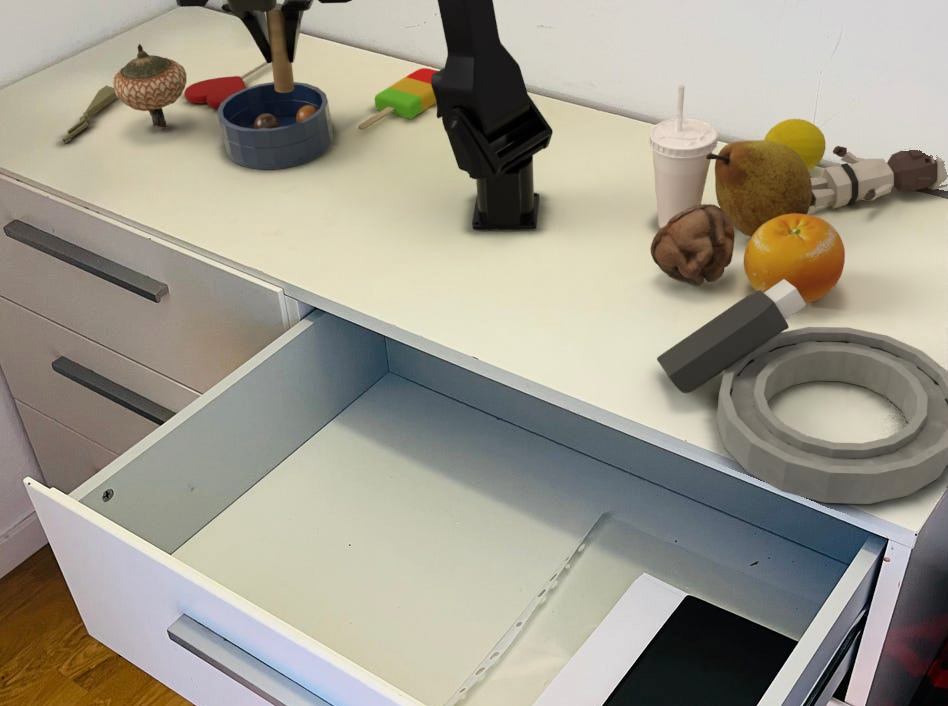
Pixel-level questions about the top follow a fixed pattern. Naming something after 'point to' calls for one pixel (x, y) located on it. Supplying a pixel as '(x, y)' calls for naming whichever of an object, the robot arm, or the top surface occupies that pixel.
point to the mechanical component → (827, 463)
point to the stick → (279, 51)
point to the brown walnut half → (695, 245)
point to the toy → (876, 177)
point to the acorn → (150, 84)
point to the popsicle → (404, 97)
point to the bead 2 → (306, 112)
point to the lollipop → (217, 89)
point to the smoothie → (680, 161)
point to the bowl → (279, 143)
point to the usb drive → (730, 336)
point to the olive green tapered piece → (92, 110)
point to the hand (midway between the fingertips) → (281, 61)
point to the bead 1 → (266, 121)
